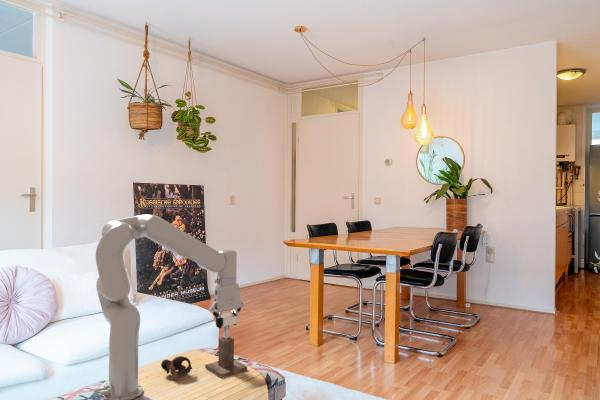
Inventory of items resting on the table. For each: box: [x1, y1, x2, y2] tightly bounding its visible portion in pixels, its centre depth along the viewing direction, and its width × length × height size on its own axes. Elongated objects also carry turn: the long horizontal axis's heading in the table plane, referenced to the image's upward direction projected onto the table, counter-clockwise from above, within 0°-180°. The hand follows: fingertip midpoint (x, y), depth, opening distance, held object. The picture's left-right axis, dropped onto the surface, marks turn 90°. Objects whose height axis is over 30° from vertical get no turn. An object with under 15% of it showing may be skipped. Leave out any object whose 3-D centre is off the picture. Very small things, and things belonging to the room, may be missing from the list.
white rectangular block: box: [221, 312, 238, 340], centre depth 175 cm, size 6×6×15 cm
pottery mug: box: [160, 356, 193, 381], centre depth 168 cm, size 12×10×8 cm
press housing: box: [204, 335, 248, 379], centre depth 175 cm, size 12×12×12 cm
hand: (226, 325), depth 175 cm, fingers closed on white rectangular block, 6 cm apart
